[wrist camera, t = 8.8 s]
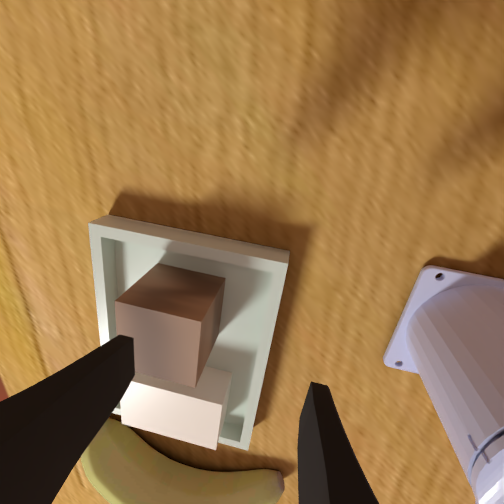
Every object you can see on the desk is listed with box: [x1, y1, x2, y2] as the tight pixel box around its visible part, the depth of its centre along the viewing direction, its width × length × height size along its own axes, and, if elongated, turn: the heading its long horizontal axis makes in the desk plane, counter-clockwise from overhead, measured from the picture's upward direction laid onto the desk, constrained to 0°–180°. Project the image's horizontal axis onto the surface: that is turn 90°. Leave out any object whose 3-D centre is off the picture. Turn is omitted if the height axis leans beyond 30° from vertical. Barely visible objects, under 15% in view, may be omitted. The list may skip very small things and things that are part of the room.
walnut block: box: [115, 263, 226, 388], centre depth 19 cm, size 5×5×5 cm
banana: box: [81, 418, 284, 504], centre depth 28 cm, size 14×6×20 cm
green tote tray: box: [88, 215, 290, 451], centre depth 22 cm, size 13×18×2 cm
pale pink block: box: [120, 366, 232, 450], centre depth 23 cm, size 8×5×3 cm, turn 82°
